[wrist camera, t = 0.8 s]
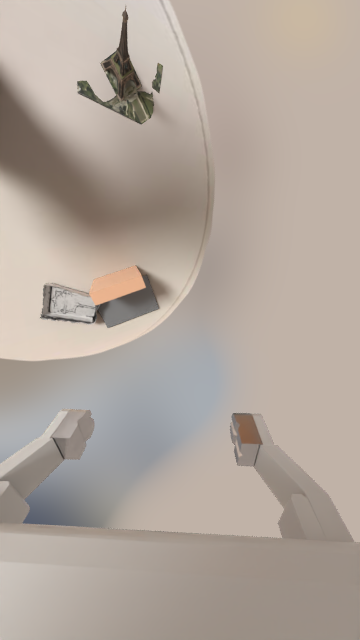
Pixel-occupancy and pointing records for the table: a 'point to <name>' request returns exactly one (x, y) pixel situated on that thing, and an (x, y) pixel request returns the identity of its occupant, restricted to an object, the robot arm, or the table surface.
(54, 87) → the table surface
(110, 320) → the mat
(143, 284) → the orange block
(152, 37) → the table surface
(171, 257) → the table surface
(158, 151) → the table surface
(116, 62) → the eiffel tower figurine
